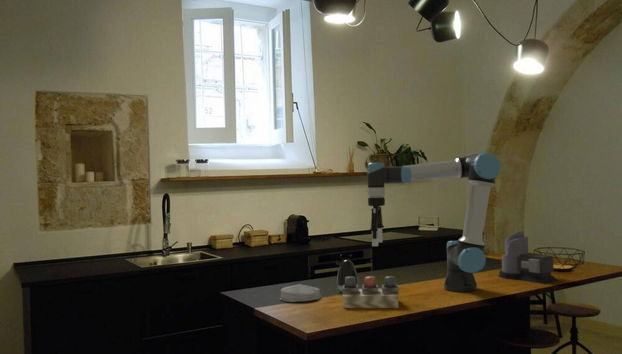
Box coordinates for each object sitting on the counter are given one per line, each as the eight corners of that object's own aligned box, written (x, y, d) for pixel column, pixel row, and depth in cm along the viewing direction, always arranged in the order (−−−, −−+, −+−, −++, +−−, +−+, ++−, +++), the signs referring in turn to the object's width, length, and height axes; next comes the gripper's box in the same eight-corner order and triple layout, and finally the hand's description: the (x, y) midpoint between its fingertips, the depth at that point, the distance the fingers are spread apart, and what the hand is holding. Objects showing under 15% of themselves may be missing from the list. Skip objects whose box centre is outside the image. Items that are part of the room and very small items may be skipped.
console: (397, 300, 241) (397, 283, 241) (399, 307, 227) (398, 289, 227) (343, 300, 243) (343, 283, 243) (342, 307, 229) (341, 290, 229)
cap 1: (355, 285, 238) (355, 276, 238) (355, 287, 233) (355, 278, 233) (345, 285, 238) (345, 276, 238) (344, 287, 234) (344, 278, 234)
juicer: (490, 276, 290) (489, 230, 290) (510, 272, 299) (508, 228, 299) (541, 284, 265) (540, 234, 265) (561, 280, 274) (559, 231, 274)
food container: (280, 294, 261) (280, 280, 261) (322, 293, 260) (321, 278, 260) (276, 305, 241) (276, 289, 241) (322, 303, 240) (321, 287, 240)
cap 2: (395, 285, 236) (394, 276, 236) (395, 287, 232) (395, 278, 232) (384, 285, 236) (384, 276, 236) (385, 287, 232) (384, 278, 232)
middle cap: (375, 285, 237) (375, 276, 237) (375, 287, 233) (375, 278, 233) (365, 285, 237) (364, 276, 237) (364, 287, 233) (364, 278, 233)
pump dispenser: (335, 289, 266) (334, 258, 266) (356, 288, 267) (355, 257, 267) (338, 294, 256) (337, 261, 256) (360, 293, 257) (359, 260, 257)
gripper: (372, 195, 259) (373, 240, 259) (363, 198, 235) (364, 247, 235) (388, 195, 257) (389, 240, 257) (380, 198, 233) (382, 247, 233)
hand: (377, 244), depth 246 cm, fingers open, 13 cm apart
